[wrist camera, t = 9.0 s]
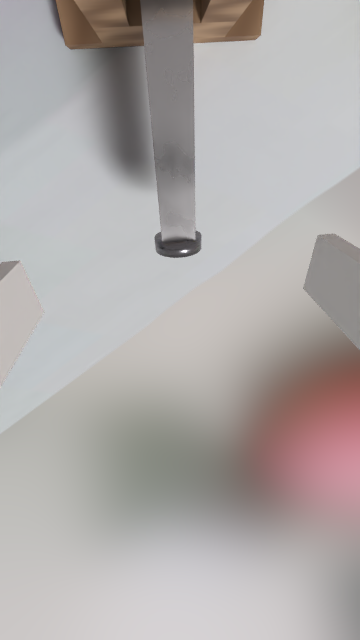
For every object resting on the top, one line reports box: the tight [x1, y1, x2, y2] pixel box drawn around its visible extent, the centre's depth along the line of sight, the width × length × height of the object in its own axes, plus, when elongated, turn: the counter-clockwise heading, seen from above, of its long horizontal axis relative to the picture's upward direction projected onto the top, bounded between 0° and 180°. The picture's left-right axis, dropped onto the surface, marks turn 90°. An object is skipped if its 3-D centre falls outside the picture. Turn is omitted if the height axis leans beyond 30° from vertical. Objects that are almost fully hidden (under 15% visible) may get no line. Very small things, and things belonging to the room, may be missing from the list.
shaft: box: [140, 0, 201, 258], centre depth 19 cm, size 4×21×4 cm, turn 3°
